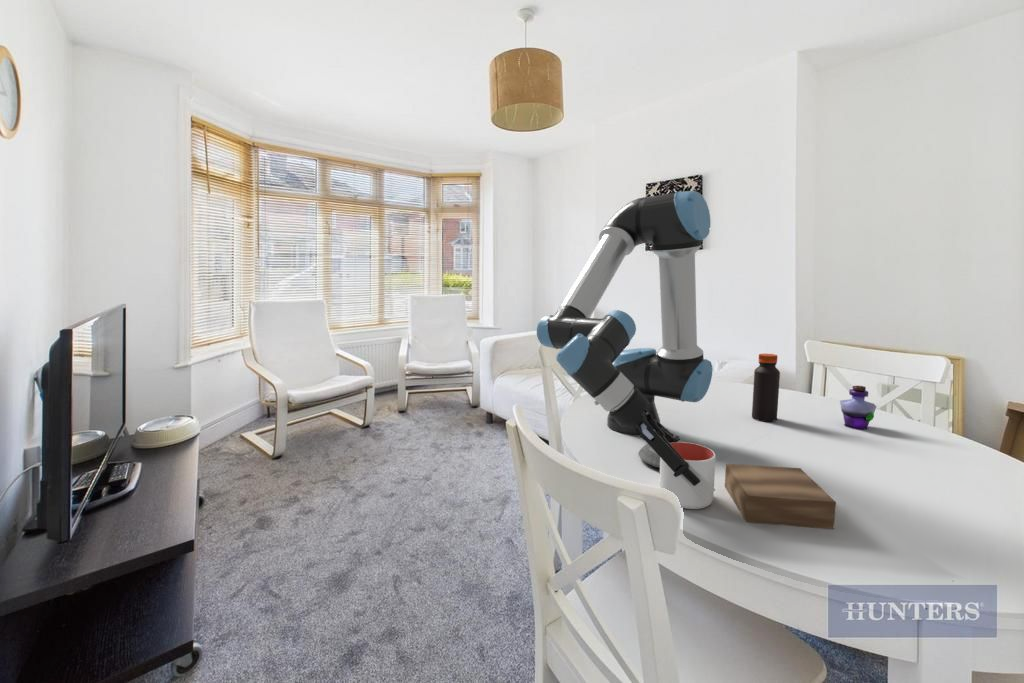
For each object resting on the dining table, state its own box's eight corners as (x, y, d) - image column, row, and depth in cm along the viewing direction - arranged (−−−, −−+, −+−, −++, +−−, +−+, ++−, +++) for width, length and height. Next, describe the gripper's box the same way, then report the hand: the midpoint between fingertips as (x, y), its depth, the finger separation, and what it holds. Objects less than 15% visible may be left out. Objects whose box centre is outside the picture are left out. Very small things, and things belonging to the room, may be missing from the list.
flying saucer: (698, 481, 97) (700, 457, 96) (630, 467, 104) (631, 444, 104) (709, 457, 109) (710, 436, 108) (647, 446, 117) (648, 426, 116)
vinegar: (781, 422, 134) (786, 356, 131) (758, 422, 134) (762, 356, 131) (769, 415, 141) (773, 352, 138) (747, 415, 141) (750, 353, 138)
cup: (718, 514, 82) (721, 463, 81) (662, 509, 84) (663, 459, 83) (706, 489, 92) (708, 443, 91) (656, 485, 94) (657, 440, 93)
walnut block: (724, 486, 93) (726, 463, 93) (798, 491, 91) (800, 468, 90) (746, 521, 80) (747, 495, 79) (833, 529, 77) (836, 501, 76)
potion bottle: (870, 433, 123) (874, 391, 121) (833, 426, 130) (836, 385, 128) (878, 426, 128) (882, 386, 127) (842, 420, 135) (845, 381, 133)
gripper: (606, 397, 100) (678, 469, 99) (608, 431, 78) (700, 523, 77) (631, 375, 98) (704, 447, 97) (640, 403, 76) (734, 496, 75)
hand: (702, 481), depth 87 cm, fingers closed on cup, 10 cm apart
